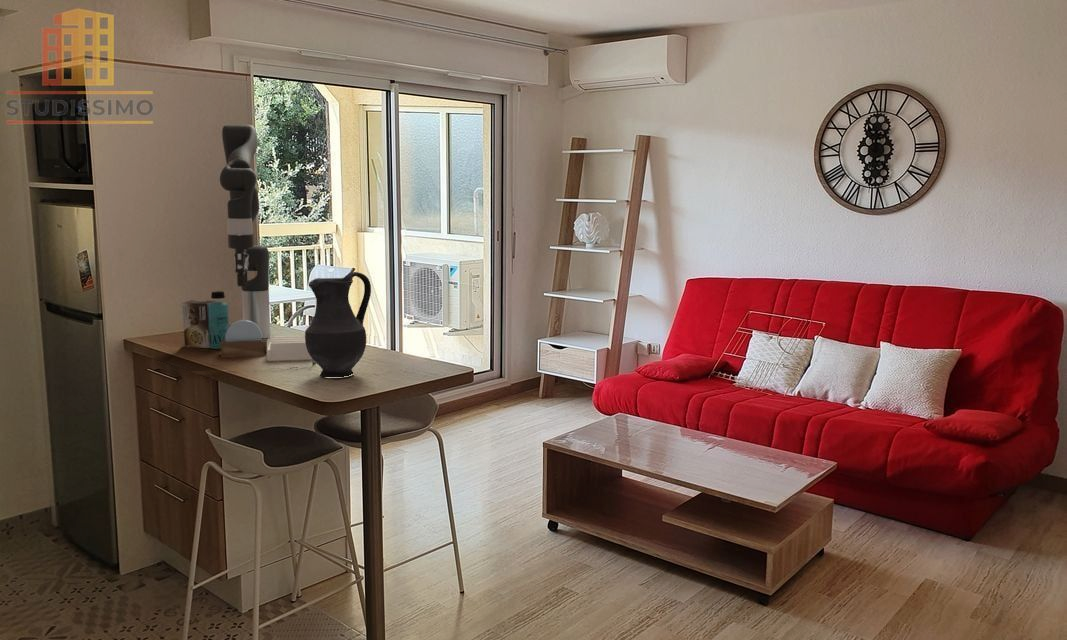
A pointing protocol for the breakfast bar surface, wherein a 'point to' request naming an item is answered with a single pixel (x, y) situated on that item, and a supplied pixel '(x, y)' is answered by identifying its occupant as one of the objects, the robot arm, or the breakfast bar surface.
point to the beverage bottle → (218, 320)
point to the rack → (288, 349)
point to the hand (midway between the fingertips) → (242, 284)
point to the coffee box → (196, 323)
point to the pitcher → (337, 326)
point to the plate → (243, 332)
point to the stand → (244, 348)
